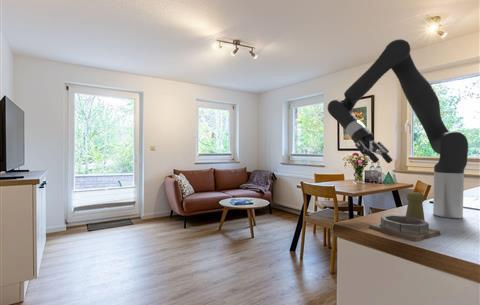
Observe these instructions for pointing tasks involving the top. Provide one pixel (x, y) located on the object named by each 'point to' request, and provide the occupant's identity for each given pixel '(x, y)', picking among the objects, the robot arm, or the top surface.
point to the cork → (415, 205)
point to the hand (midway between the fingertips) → (383, 161)
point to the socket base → (411, 237)
